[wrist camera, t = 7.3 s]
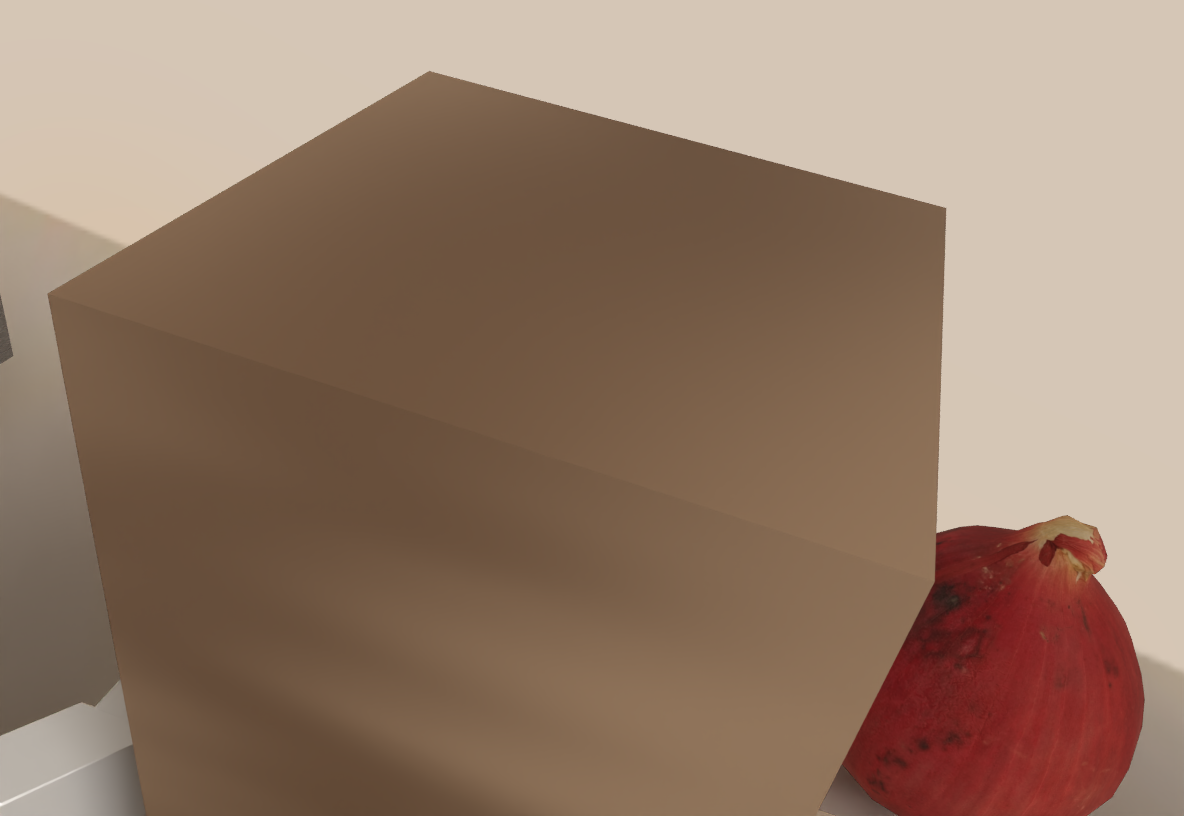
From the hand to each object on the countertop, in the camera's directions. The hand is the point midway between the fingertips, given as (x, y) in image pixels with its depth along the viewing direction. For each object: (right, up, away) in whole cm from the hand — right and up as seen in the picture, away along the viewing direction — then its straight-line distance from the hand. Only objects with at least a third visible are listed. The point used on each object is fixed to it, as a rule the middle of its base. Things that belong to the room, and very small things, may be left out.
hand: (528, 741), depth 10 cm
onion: (+7, -5, +12) cm, 15 cm away
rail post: (-1, -7, +4) cm, 8 cm away
